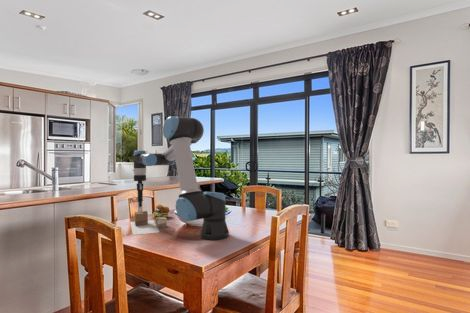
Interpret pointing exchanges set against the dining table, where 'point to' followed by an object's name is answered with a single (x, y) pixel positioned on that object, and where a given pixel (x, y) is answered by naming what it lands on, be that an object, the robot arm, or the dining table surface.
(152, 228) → the placemat
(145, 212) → the walnut block
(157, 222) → the maple block
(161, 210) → the cheeseburger
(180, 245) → the dining table surface
